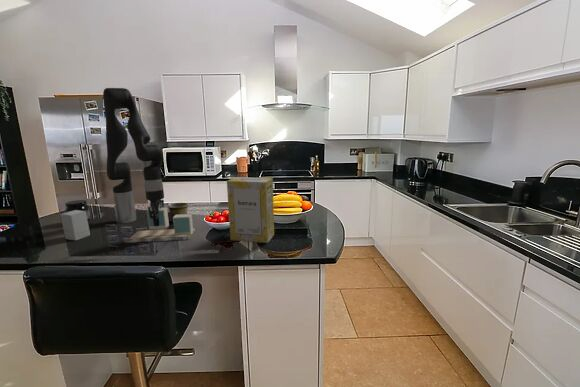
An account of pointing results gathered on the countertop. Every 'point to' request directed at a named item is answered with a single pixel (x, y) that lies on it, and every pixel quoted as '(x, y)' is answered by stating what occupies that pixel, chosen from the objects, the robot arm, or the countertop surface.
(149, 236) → the shelf
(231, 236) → the pasta box
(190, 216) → the faced carton
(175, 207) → the ceramic cup
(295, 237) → the countertop surface
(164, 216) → the carton
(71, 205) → the supplement container
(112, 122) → the robot arm
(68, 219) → the supplement box
